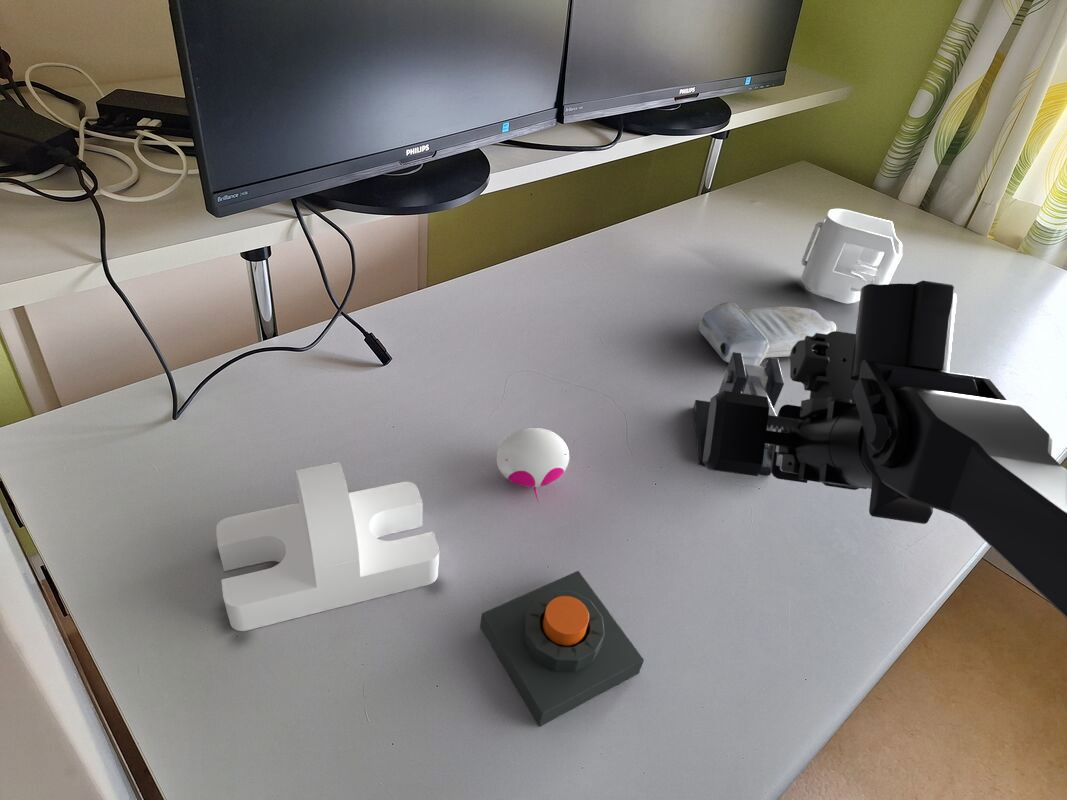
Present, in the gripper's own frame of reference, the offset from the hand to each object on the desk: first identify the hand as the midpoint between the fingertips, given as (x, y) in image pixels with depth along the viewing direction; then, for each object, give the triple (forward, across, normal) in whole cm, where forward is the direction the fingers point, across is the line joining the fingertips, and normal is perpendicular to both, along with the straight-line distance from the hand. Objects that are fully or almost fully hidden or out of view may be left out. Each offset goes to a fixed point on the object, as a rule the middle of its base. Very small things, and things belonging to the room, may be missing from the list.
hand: (790, 447), depth 68 cm
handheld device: (+36, -8, -16) cm, 40 cm away
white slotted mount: (+3, +39, +16) cm, 43 cm away
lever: (+9, 0, -2) cm, 9 cm away
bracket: (+21, 0, -1) cm, 21 cm away
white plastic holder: (+47, -21, -27) cm, 58 cm away
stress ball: (+13, +22, +7) cm, 27 cm away
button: (-3, +18, +18) cm, 25 cm away
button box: (-1, +18, +20) cm, 27 cm away
